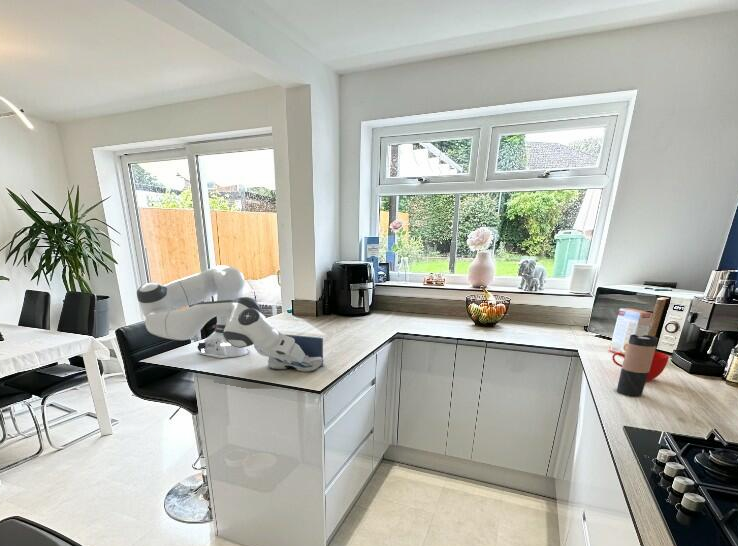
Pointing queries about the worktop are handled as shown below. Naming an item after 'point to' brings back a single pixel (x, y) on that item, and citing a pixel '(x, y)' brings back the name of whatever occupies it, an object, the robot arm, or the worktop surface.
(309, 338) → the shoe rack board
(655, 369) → the ceramic cup
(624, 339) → the cracker box
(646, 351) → the travel mug
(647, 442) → the worktop surface
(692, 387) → the worktop surface
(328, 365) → the worktop surface
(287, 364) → the athletic shoe
